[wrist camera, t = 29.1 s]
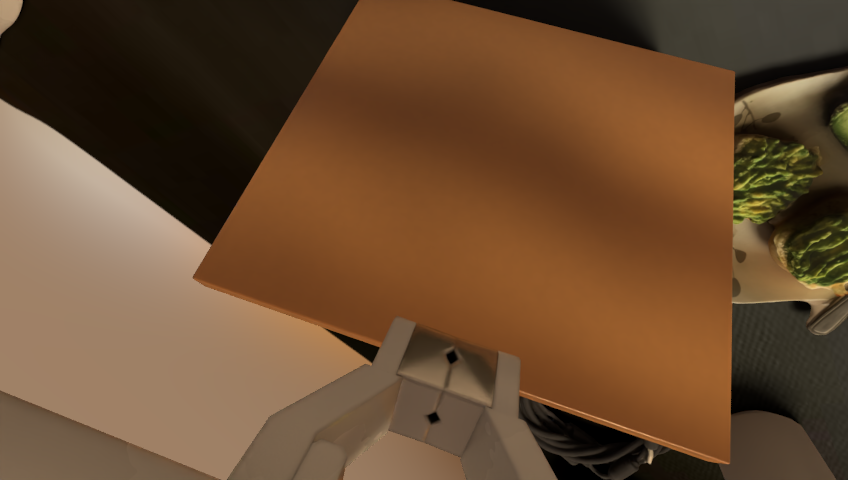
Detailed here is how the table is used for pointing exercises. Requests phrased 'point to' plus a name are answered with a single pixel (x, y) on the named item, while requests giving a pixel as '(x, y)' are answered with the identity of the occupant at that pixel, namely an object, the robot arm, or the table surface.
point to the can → (771, 450)
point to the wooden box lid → (509, 210)
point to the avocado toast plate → (793, 195)
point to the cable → (585, 443)
